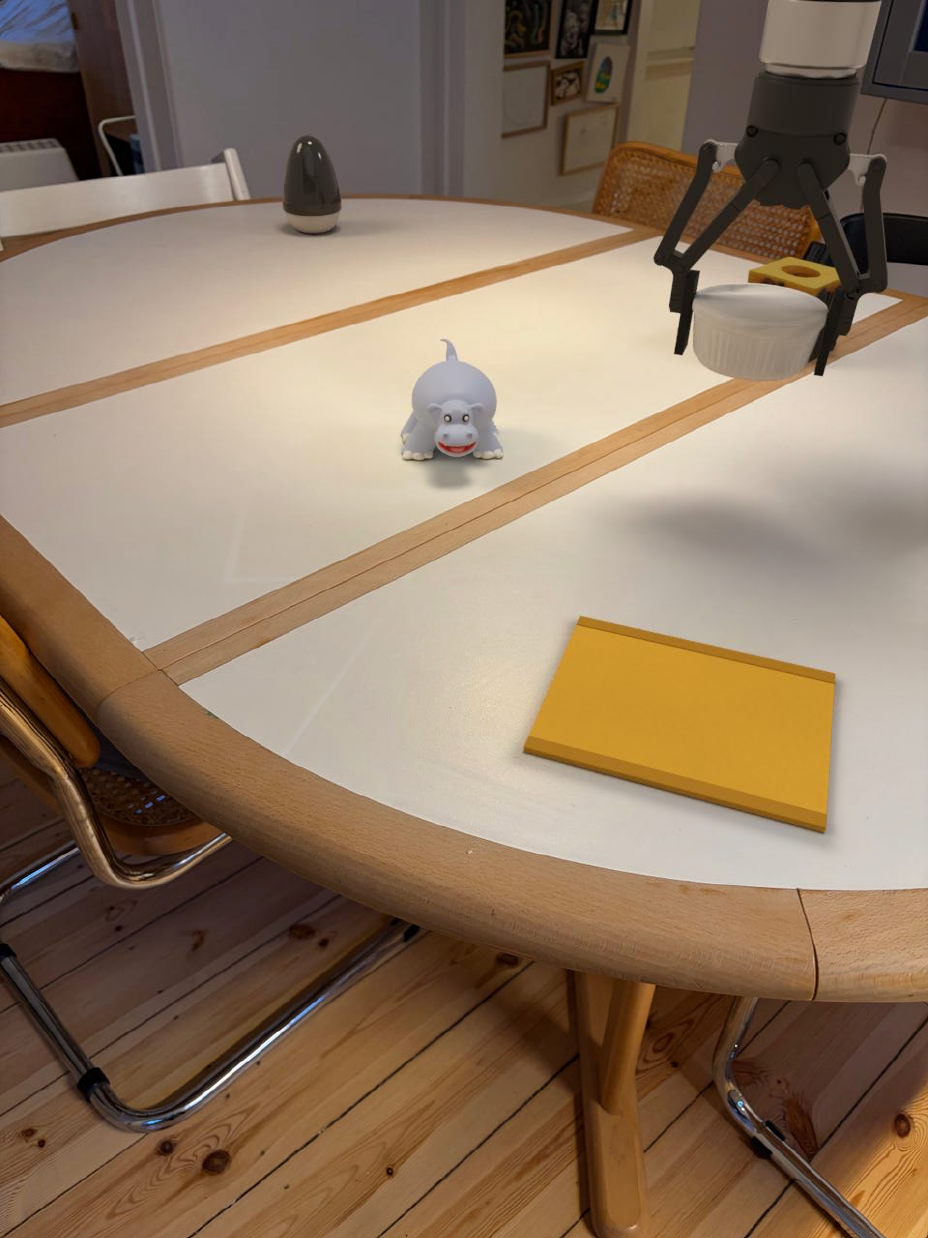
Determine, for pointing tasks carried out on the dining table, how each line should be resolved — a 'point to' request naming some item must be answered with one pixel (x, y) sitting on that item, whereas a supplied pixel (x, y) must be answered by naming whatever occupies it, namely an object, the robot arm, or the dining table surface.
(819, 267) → the candle
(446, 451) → the hippopotamus toy
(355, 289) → the dining table surface
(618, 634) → the tray
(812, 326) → the ramekin
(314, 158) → the black egg shape
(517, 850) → the dining table surface
